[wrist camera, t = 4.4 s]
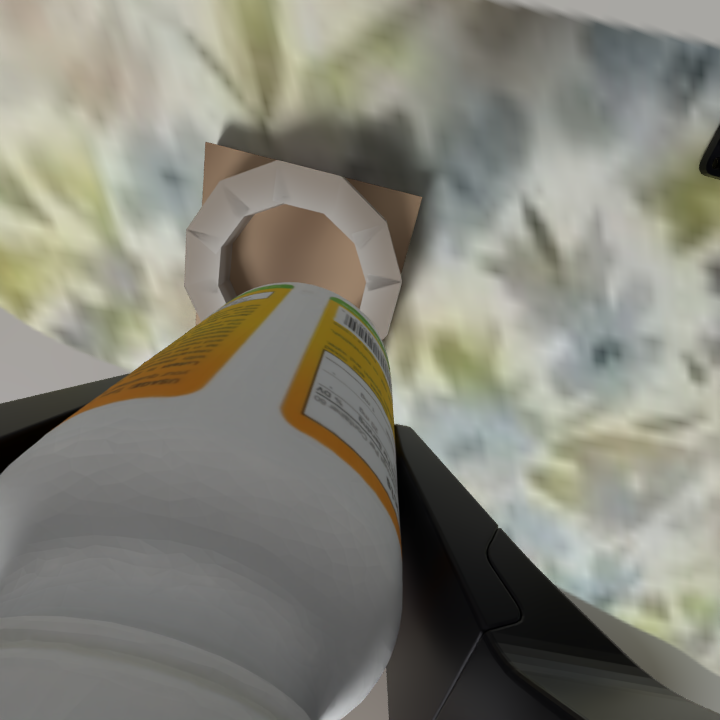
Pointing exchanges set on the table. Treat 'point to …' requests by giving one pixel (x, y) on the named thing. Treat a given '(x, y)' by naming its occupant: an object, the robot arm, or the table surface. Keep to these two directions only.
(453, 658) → the robot arm
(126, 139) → the table surface
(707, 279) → the table surface
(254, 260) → the collar block
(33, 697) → the supplement bottle
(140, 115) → the table surface
